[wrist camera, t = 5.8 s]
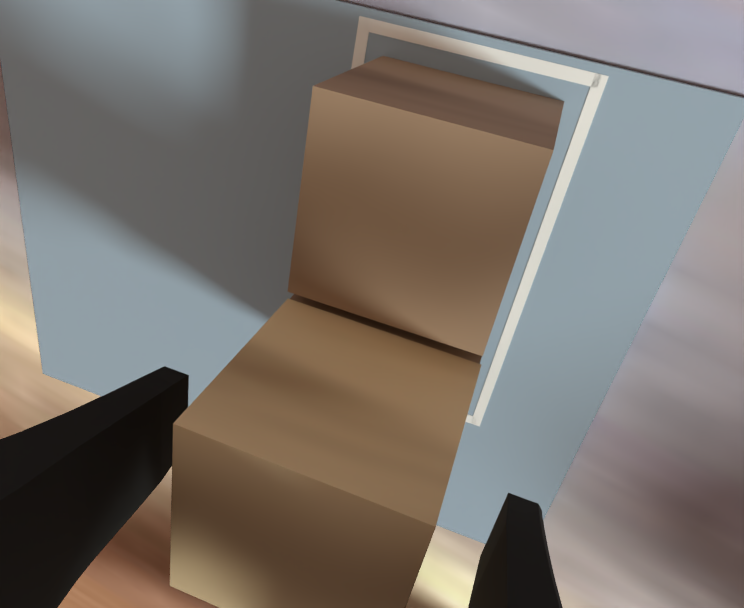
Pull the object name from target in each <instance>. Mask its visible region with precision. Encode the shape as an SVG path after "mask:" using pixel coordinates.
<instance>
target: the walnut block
mask: <svg viewBox="0 0 744 608" xmlns="http://www.w3.org/2000/svg"><path fill="white" fill-rule="evenodd" d="M563 105H564V101H561V100H557V99H553V98H549V97H545V96H541V95H537V94H533V93H529V92H525V91H521V90H517V89H513V88H509V87H505V86H501V85H497V84H493V83H489V82H485V81H481V80H477V79H473V78H469V77H465V76H462V75H458V74H454V73H450V72H446V71H442V70H438V69H434V68H430V67H426V66H422V65H418V64H414V63H410V62H406V61H402V60H398V59H394V58H390V57H386V56H381V57H379V58H376V59H374V60H372V61H369V62H367V63H365V64H363V65H360V66H358V67H356V68H353V69H351V70H349V71H346V72H344V73H342V74H339V75H337V76H335V77H332V78H330V79H328V80H325V81H323V82H321V83H318V84H316V85H314V86H313V89H312V97H311V105H310V113H309V121H308V129H307V137H306V145H305V153H304V162H303V170H302V178H301V186H300V194H299V202H298V210H297V218H296V226H295V234H294V242H293V251H292V259H291V267H290V275H289V283H288V291H287V292H290V293H293V294H296V295H299V296H302V297H305V298H308V299H311V300H314V301H317V302H320V303H323V304H326V305H329V306H332V307H335V308H338V309H341V310H344V311H347V312H350V313H353V314H356V315H360V316H363V317H366V318H369V319H372V320H375V321H378V322H381V323H384V324H387V325H390V326H393V327H396V328H399V329H402V330H405V331H408V332H411V333H414V334H417V335H420V336H423V337H426V338H429V339H432V340H435V341H438V342H441V343H444V344H447V345H450V346H453V347H456V348H459V349H462V350H465V351H468V352H471V353H474V354H477V355H480V356H483V354H484V351H485V348H486V345H487V342H488V339H489V336H490V334H491V331H492V328H493V325H494V322H495V319H496V316H497V313H498V310H499V307H500V304H501V302H502V299H503V296H504V293H505V290H506V287H507V284H508V281H509V278H510V275H511V273H512V270H513V267H514V264H515V261H516V258H517V255H518V252H519V249H520V246H521V244H522V241H523V238H524V235H525V232H526V229H527V226H528V223H529V220H530V217H531V214H532V212H533V209H534V206H535V203H536V200H537V197H538V194H539V191H540V188H541V185H542V183H543V180H544V177H545V174H546V171H547V168H548V165H549V162H550V159H551V156H552V154H553V151H554V146H555V142H556V137H557V133H558V128H559V124H560V119H561V114H562V110H563Z"/></svg>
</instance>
